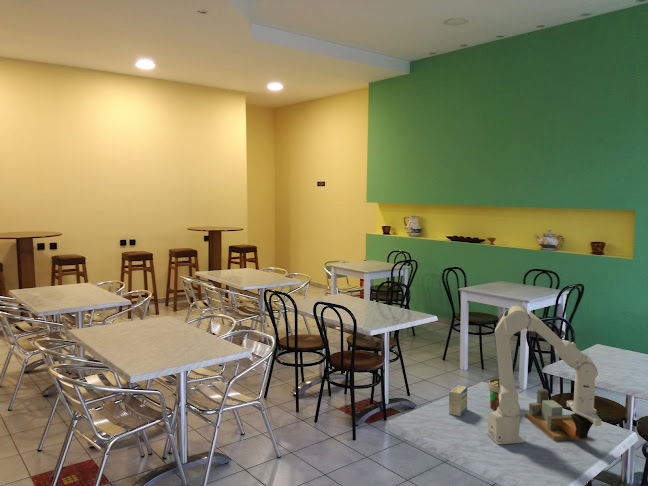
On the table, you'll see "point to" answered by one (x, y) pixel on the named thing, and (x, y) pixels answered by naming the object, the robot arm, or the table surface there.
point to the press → (541, 423)
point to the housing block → (550, 409)
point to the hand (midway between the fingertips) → (582, 437)
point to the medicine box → (458, 400)
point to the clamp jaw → (563, 424)
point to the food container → (494, 392)
